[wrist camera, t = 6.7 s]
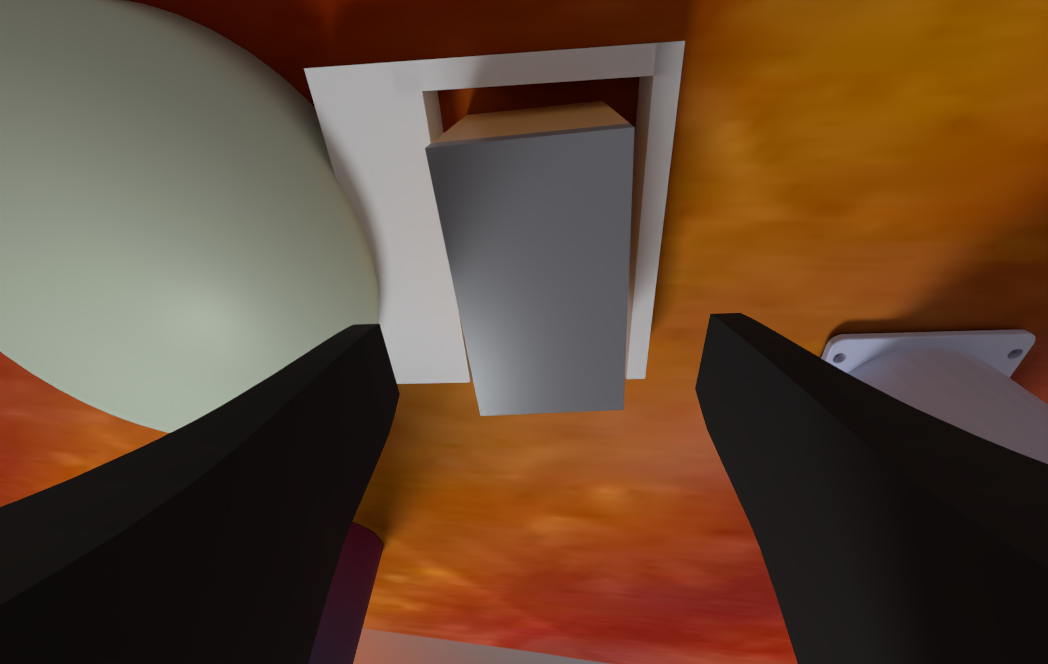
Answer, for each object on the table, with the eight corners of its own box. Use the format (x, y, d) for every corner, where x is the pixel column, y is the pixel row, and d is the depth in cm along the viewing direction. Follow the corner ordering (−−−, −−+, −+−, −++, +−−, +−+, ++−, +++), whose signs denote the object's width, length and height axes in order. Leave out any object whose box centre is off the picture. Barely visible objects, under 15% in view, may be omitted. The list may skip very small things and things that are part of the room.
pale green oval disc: (632, 388, 20) (644, 435, 18) (124, 398, 22) (70, 442, 20) (676, -56, 12) (712, -86, 9) (-162, 17, 14) (-324, 9, 11)
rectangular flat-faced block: (601, 310, 18) (623, 409, 13) (498, 317, 19) (480, 415, 14) (601, 100, 14) (634, 127, 9) (467, 114, 14) (424, 148, 9)
